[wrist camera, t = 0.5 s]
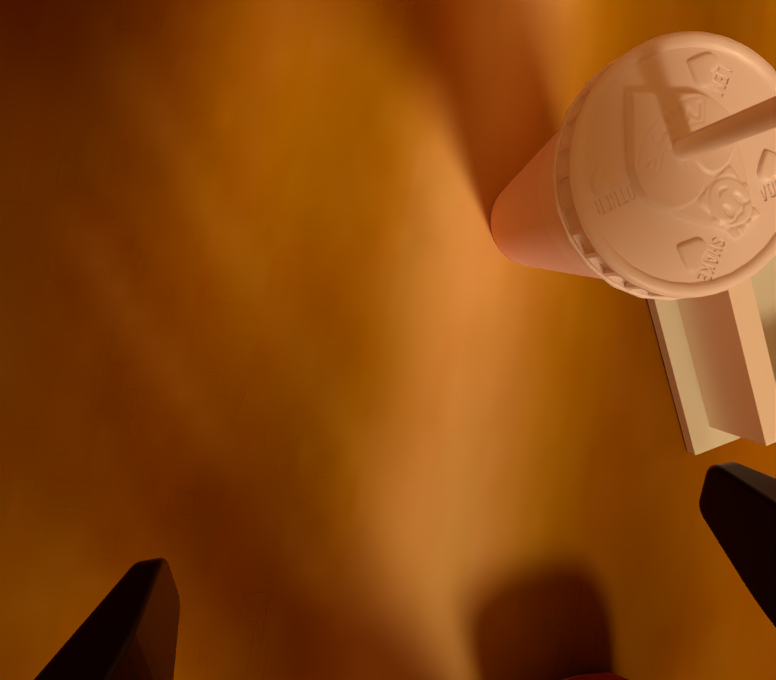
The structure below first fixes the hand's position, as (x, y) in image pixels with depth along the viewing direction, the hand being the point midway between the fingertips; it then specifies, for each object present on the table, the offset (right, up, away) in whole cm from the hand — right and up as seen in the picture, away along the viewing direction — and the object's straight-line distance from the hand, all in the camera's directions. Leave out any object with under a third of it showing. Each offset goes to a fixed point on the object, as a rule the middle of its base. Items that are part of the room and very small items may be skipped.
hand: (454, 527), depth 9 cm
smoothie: (+5, +8, +14) cm, 17 cm away
